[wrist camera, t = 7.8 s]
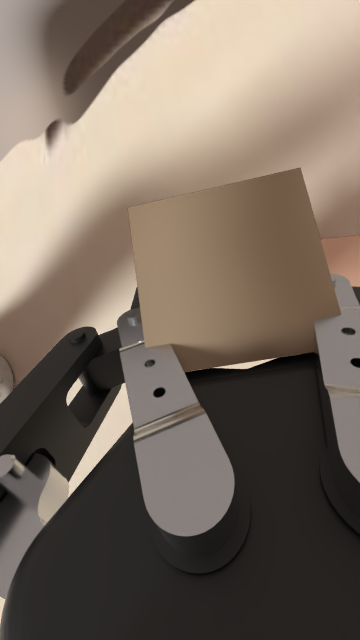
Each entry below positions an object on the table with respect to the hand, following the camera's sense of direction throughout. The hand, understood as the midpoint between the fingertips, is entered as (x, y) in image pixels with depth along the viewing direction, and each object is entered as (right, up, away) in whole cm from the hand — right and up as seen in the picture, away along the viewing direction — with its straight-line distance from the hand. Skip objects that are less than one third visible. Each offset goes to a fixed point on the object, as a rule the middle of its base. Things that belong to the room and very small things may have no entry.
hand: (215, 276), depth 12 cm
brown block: (+1, -3, +4) cm, 5 cm away
